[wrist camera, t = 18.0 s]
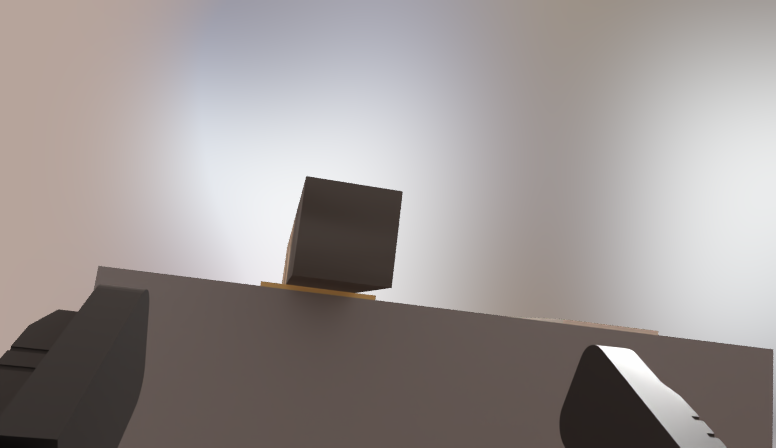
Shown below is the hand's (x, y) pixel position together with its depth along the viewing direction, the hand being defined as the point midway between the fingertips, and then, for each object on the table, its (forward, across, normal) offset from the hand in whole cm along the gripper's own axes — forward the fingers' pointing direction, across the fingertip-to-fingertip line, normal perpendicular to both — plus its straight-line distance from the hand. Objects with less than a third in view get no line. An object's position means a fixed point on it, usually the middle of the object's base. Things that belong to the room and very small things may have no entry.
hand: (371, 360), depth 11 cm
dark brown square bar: (+16, 0, +7) cm, 18 cm away
